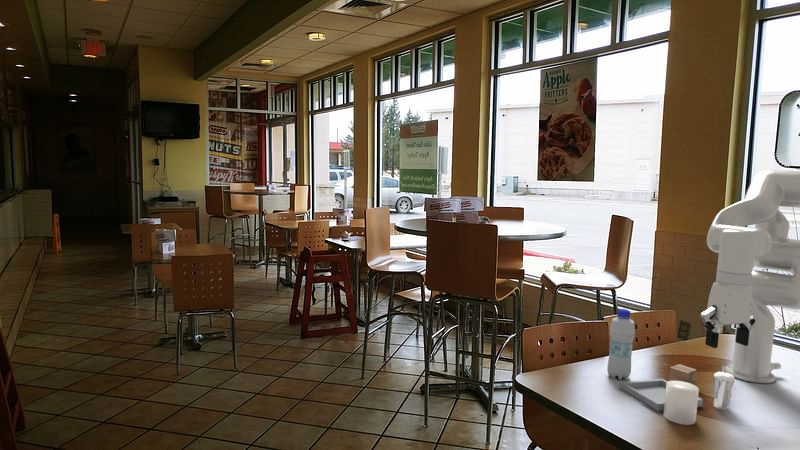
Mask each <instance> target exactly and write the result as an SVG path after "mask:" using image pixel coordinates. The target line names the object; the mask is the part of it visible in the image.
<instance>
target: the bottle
mask: <svg viewBox="0 0 800 450" xmlns="http://www.w3.org/2000/svg"><path fill="white" fill-rule="evenodd" d="M635 328H636V327H635V321H634V320H633V319H631V311H630V310H629V309H626V308H620V309H618V310H617V315H616V317H614V318H612V319H611V324H610V327H609V335H610V339H609V340H610V341H609V351H608V353H609V355H608V362H607V368H606V369H607V375H608V376H609V377H611V378H612V379H616V376H617V378H618V380H619V381H620V380H622V379H623V380H626V381H627V379H629V377H630V375H631V373H632V355H633V342H634V339H635V334H636V329H635Z"/></svg>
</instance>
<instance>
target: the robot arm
mask: <svg viewBox="0 0 800 450" xmlns="http://www.w3.org/2000/svg"><path fill="white" fill-rule="evenodd" d="M780 207H787V208H800V170H777V169H776V170H775V169H774V170H764V171H760V172H758V173H757V174H755V175H754V177H753V178H752V180H751V182H750V184H749V186H748V188H747V190H746V193H745V195H744V197H743V200H740V201H738V202H736V203H734V204H731V205H730V206H727V207H726V208H723V209H722V210H720V211H719V212H718V213H717V214H716V216H715V217H714V218H713V221H712V223H711V225H710V227H709V229H708V232H707V236H706V245H707V247H708V248H709V250H711V251H712V252H714V253H717V254H718V257H717V266H716V276H715V282H713V283H712V286H711V288H710V292H709V294H708V295H709V296H708V302H707V307H706V310H704V311H703V312H701V313H700V319H701V323H702V325H703V326H704V329H705V330H706V332H705V345H706V346H708V347H711V348H713V349H717V348H718V346H719V337H720V333H719V332H718V331H719V329H720V328H721V327H722V325H724V326H727V325H730V326H731V325H735V333H734V343H733V352H732V361H731V364H728V365H727V366H726V365H725V370H724V372H725V373H729V374H732V375H733V376H734V378H736V379H738V380H742V381H746V382H749V383H750V382H751V383H757V384H771V383H774V382H775V381H776V376H775V375H774V374H773V373H772V371H773V370H780V369H781V367H782V365H781V363H780V362H772V353H773V346H774V345H773V343H774V336H775V328H776V318H775V317H774V315H773V312H772V311H771V310H770V308H769V307H770V306H771V307H778V308H783V309H784V308H785V309H790V310H800V239H794V238H788V236H789V232H790V231H789V230H790V222H789V220H788V219H787V217H786V215H784V213H783V212H782V211H780V209H779V208H780ZM753 225H755V226H754V227H751V226H753ZM749 226H750V227H749ZM754 267H757V268H761V269H765V271H764V270H756V269H754ZM766 270H772V271H766ZM773 270H775V271H778V273H777V272H773ZM779 271H781V272H788V273H791V274H785V273H779ZM768 306H769V307H768Z"/></svg>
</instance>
